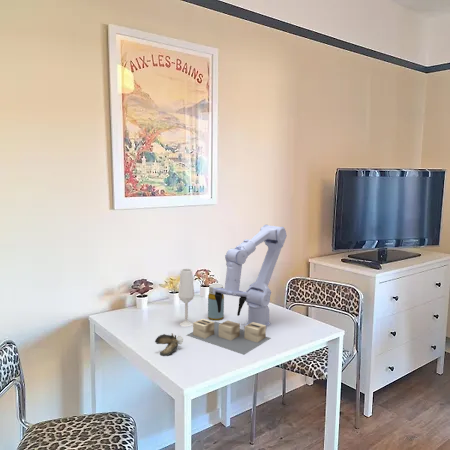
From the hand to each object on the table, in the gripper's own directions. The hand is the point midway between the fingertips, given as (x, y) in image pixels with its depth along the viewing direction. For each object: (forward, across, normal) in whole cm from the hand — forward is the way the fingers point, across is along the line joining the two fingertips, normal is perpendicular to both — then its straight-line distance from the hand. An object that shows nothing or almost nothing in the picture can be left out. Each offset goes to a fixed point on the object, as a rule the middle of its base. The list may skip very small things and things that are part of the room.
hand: (228, 313), depth 165 cm
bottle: (+8, -8, +21) cm, 24 cm away
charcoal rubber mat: (+10, +1, +2) cm, 10 cm away
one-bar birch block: (+8, +11, +2) cm, 14 cm away
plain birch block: (+9, +1, +2) cm, 10 cm away
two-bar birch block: (+10, -9, +2) cm, 14 cm away
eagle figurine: (+14, -18, -15) cm, 27 cm away
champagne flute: (+10, -19, +11) cm, 24 cm away
